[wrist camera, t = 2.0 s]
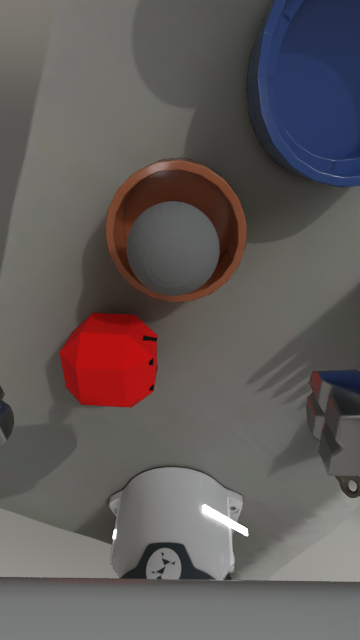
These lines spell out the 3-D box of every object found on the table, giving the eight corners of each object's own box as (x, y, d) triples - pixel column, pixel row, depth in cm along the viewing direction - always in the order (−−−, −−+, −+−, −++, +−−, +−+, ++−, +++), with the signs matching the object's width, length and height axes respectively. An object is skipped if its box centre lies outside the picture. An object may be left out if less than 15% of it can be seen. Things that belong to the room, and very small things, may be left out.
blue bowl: (415, 170, 25) (462, 176, 20) (244, 186, 26) (254, 194, 21) (473, -74, 19) (558, -141, 14) (245, -40, 20) (260, -93, 15)
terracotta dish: (239, 277, 29) (246, 297, 25) (129, 284, 30) (119, 305, 26) (238, 151, 25) (247, 153, 21) (108, 164, 25) (91, 168, 21)
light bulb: (226, 206, 26) (241, 238, 17) (196, 270, 29) (196, 325, 20) (157, 174, 25) (137, 191, 17) (133, 244, 28) (104, 290, 19)
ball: (159, 371, 35) (151, 425, 28) (86, 368, 35) (61, 420, 29) (159, 305, 31) (149, 350, 25) (77, 302, 31) (45, 345, 25)
